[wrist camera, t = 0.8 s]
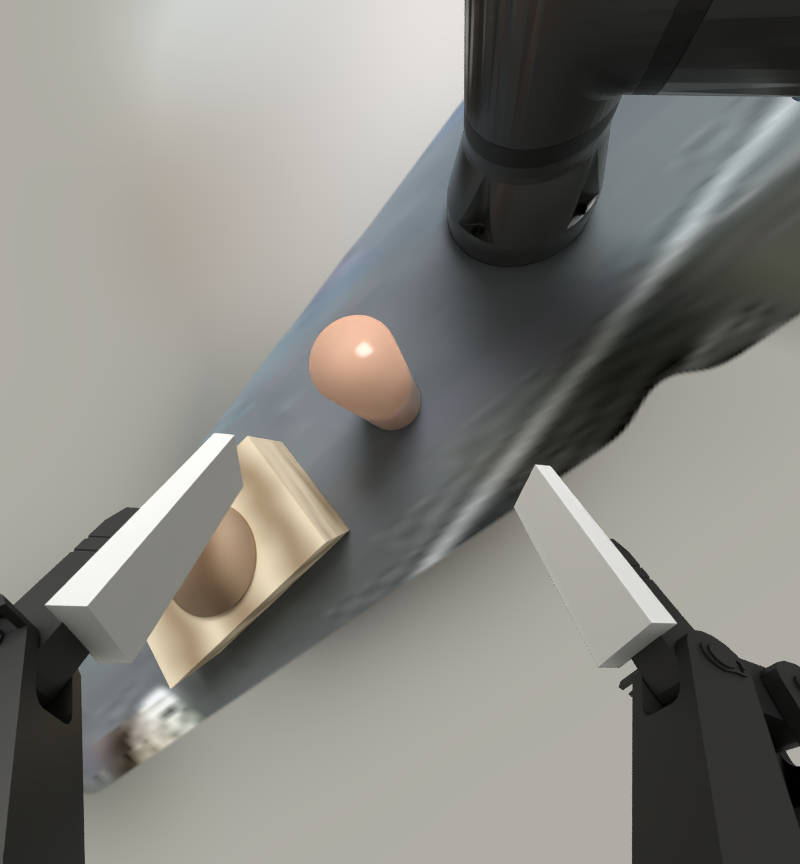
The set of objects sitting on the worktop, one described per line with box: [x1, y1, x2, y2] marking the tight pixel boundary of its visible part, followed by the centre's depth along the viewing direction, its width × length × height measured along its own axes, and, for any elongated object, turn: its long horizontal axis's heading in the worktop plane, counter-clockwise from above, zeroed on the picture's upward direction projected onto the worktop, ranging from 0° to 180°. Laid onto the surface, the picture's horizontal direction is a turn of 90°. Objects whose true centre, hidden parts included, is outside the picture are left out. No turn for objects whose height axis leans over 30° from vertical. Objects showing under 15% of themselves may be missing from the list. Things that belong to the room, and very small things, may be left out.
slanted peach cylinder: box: [309, 315, 421, 430], centre depth 25 cm, size 6×6×12 cm
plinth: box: [147, 436, 350, 689], centre depth 29 cm, size 20×13×6 cm, turn 132°
